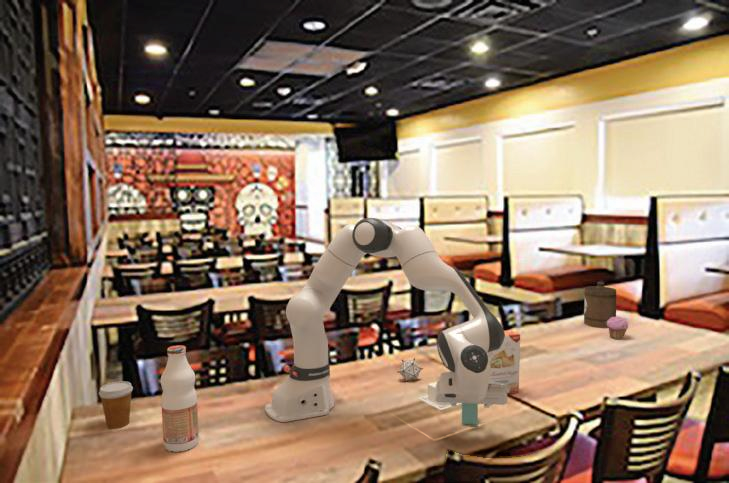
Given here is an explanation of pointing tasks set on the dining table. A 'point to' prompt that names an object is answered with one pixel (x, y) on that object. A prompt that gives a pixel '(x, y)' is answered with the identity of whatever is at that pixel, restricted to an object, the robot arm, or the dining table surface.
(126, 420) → the disposable coffee cup
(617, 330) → the cupcake
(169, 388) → the fruit juice
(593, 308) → the wooden container
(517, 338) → the cracker box
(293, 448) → the dining table surface
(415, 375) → the game die
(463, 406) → the teal brick
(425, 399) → the baseplate
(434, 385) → the cream brick
